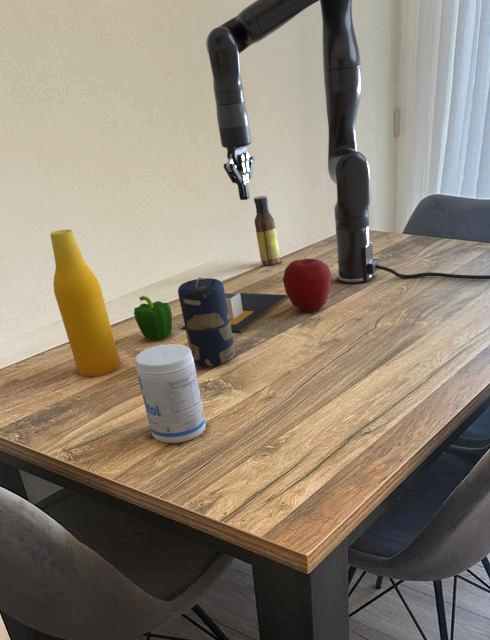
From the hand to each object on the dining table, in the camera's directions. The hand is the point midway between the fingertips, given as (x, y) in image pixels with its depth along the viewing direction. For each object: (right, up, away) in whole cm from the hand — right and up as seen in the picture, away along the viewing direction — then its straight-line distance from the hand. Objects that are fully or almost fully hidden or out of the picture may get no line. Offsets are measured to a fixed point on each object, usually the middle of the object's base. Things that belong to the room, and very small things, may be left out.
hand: (244, 199), depth 175 cm
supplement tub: (-4, -65, -56) cm, 86 cm away
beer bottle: (-29, -49, -27) cm, 63 cm away
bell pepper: (-19, -39, -12) cm, 45 cm away
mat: (-2, -30, -1) cm, 30 cm away
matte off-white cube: (-4, -27, -7) cm, 28 cm away
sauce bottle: (+3, -4, +39) cm, 39 cm away
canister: (-3, -48, -28) cm, 56 cm away
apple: (+17, -30, -4) cm, 35 cm away
